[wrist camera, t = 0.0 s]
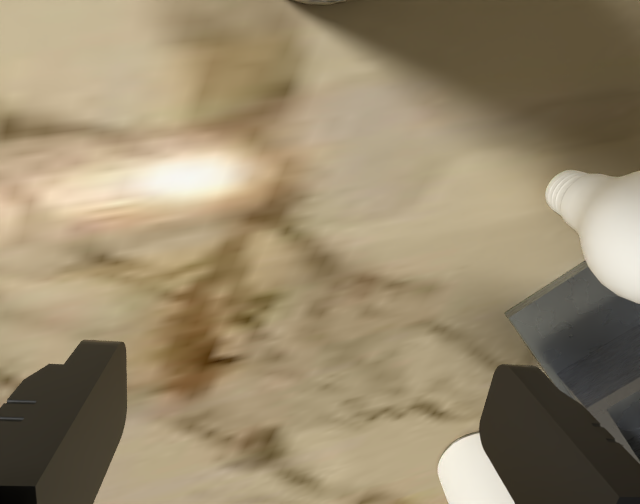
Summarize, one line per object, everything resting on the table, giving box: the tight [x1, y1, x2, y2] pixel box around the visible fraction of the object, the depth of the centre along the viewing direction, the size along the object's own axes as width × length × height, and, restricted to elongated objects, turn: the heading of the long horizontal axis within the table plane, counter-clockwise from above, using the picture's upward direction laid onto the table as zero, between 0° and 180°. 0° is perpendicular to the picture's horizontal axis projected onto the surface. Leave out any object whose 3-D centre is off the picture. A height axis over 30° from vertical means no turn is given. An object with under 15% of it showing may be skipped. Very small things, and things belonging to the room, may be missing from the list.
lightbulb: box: [545, 170, 640, 304], centre depth 22 cm, size 6×6×11 cm
